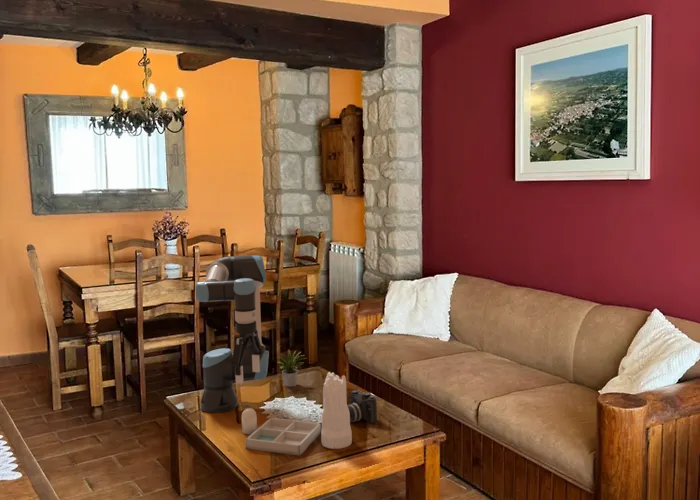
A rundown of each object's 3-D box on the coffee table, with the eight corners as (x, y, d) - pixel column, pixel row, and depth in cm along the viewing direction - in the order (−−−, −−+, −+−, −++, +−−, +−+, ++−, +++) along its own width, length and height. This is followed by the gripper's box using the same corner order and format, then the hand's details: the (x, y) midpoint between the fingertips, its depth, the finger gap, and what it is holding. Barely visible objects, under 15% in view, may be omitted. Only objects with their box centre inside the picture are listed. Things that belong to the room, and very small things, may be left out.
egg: (239, 433, 247) (238, 410, 246) (246, 427, 252) (245, 405, 251) (253, 435, 246) (252, 412, 244) (259, 429, 251) (258, 406, 250)
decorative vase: (355, 446, 234) (353, 377, 231) (325, 450, 231) (323, 380, 228) (346, 434, 244) (345, 368, 241) (318, 438, 241) (316, 371, 238)
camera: (335, 417, 261) (334, 392, 260) (357, 410, 268) (357, 386, 266) (357, 428, 250) (357, 402, 249) (380, 421, 256) (379, 396, 255)
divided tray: (246, 448, 234) (245, 439, 233) (270, 426, 253) (270, 417, 252) (299, 455, 227) (299, 445, 227) (321, 432, 246) (321, 423, 246)
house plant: (292, 393, 289) (290, 356, 287) (267, 387, 297) (266, 352, 294) (311, 383, 301) (310, 348, 299) (287, 378, 308) (286, 344, 306)
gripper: (239, 330, 231) (241, 389, 233) (269, 314, 254) (271, 368, 257) (219, 328, 233) (222, 387, 236) (251, 313, 256) (253, 366, 259)
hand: (248, 377), depth 246 cm, fingers open, 13 cm apart
